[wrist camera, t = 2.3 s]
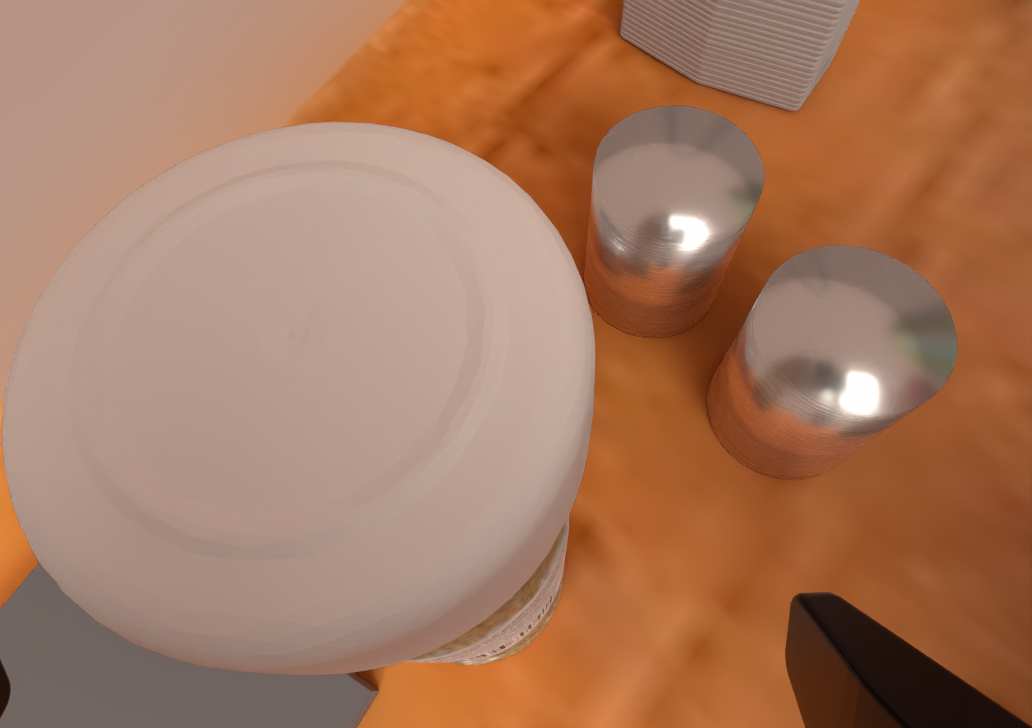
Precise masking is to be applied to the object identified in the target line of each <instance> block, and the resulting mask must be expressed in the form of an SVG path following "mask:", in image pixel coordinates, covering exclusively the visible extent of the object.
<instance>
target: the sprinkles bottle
mask: <svg viewBox="0 0 1032 728" xmlns="http://www.w3.org/2000/svg"><path fill="white" fill-rule="evenodd" d="M594 388H595V338H594V328H593V321H592V315H591V311H590V307H589V303H588V300H587V296H586V292H585V288H584V284H583V282H582V279H581V277H580V274H579V272H578V270H577V267H576V265H575V262H574V260H573V257H572V255H571V253H570V251H569V250H568V248H567V246H566V244H565V243H564V241H563V239H562V237H561V236H560V234H559V232H558V230H557V229H556V228H555V227H554V225H553V224H552V223H551V221H550V220H549V219H548V217H547V216H546V215H545V214H544V212H543V211H542V210H541V209H540V208H539V206H538V205H537V204H536V203H535V201H534V200H533V199H532V198H531V196H529V195H528V194H527V193H526V192H525V191H524V190H523V189H522V188H520V187H519V186H518V185H517V184H516V183H515V182H514V181H513V180H512V179H511V178H510V177H509V176H507V175H506V174H504V173H503V172H501V171H500V170H498V169H497V168H495V167H494V166H493V165H491V164H490V163H488V162H486V161H485V160H483V159H481V158H480V157H478V156H476V155H474V154H472V153H470V152H469V151H467V150H465V149H462V148H460V147H458V146H456V145H454V144H452V143H449V142H447V141H444V140H441V139H439V138H436V137H433V136H430V135H427V134H423V133H419V132H415V131H411V130H407V129H403V128H398V127H392V126H386V125H380V124H373V123H355V122H321V123H307V124H301V125H295V126H289V127H283V128H277V129H272V130H266V131H261V132H258V133H254V134H251V135H248V136H244V137H241V138H238V139H235V140H232V141H229V142H227V143H224V144H222V145H219V146H216V147H214V148H211V149H209V150H206V151H203V152H201V153H199V154H197V155H195V156H193V157H191V158H189V159H187V160H185V161H183V162H181V163H179V164H177V165H175V166H173V167H172V168H170V169H168V170H167V171H165V172H163V173H162V174H160V175H158V176H157V177H155V178H154V179H152V180H151V181H149V182H148V183H146V184H145V185H143V186H142V187H140V188H139V189H137V190H135V191H134V192H133V193H131V194H130V195H129V196H128V197H126V198H125V199H124V200H123V201H122V202H120V203H119V204H118V205H117V206H116V207H115V208H114V209H112V210H111V211H110V212H109V213H108V214H107V215H106V216H105V217H103V218H102V219H101V220H100V221H99V222H98V223H97V224H96V225H95V226H94V227H93V228H92V229H91V230H90V231H89V232H88V234H86V236H85V237H84V238H83V239H82V240H81V241H80V242H79V243H78V244H77V245H76V246H75V247H74V249H73V250H72V251H71V253H70V254H69V255H68V257H67V258H66V259H65V261H64V262H63V263H62V265H61V266H60V267H59V269H58V270H57V271H56V273H55V274H54V276H53V277H52V279H51V280H50V282H49V283H48V285H47V286H46V288H45V289H44V291H43V293H42V294H41V296H40V298H39V300H38V302H37V304H36V306H35V307H34V310H33V311H32V313H31V315H30V317H29V319H28V321H27V324H26V326H25V328H24V330H23V333H22V335H21V337H20V340H19V342H18V344H17V348H16V351H15V354H14V357H13V361H12V364H11V367H10V373H9V377H8V382H7V387H6V391H5V402H4V413H3V425H2V445H3V457H4V467H5V472H6V476H7V481H8V486H9V493H10V498H11V501H12V504H13V507H14V510H15V513H16V516H17V519H18V522H19V524H20V526H21V528H22V530H23V532H24V534H25V536H26V538H27V540H28V542H29V544H30V547H31V549H32V551H33V553H34V555H35V556H36V558H37V559H38V561H39V562H40V564H41V565H42V566H43V568H44V569H45V570H46V571H47V572H48V574H49V575H50V576H51V577H52V578H53V579H54V580H55V581H56V582H57V584H58V585H59V587H60V589H61V590H62V591H63V592H64V593H65V594H66V595H67V596H68V597H69V598H71V599H72V600H73V601H74V602H75V603H76V604H78V605H79V606H80V607H81V608H82V609H83V610H84V611H86V612H87V613H88V614H89V615H90V616H91V617H93V618H94V619H95V620H96V621H97V622H99V623H101V624H102V625H104V626H105V627H107V628H109V629H110V630H112V631H114V632H115V633H117V634H118V635H120V636H122V637H123V638H125V639H126V640H128V641H130V642H131V643H133V644H135V645H138V646H141V647H143V648H146V649H149V650H151V651H154V652H157V653H159V654H162V655H165V656H167V657H170V658H173V659H176V660H179V661H183V662H187V663H191V664H196V665H200V666H204V667H209V668H217V669H225V670H233V671H241V672H254V673H270V674H285V675H327V674H345V673H352V672H359V671H366V670H371V669H376V668H381V667H386V666H391V665H396V664H399V663H402V662H450V663H452V664H460V665H484V664H488V663H491V662H494V661H500V660H503V659H505V658H506V657H508V656H511V655H514V654H516V653H518V652H520V651H521V650H522V649H524V648H525V647H527V646H528V645H529V644H530V643H531V642H532V641H533V640H534V639H535V638H536V637H537V636H538V635H539V634H540V633H541V632H542V631H543V629H544V628H545V627H546V626H547V624H548V623H549V621H550V619H551V616H552V614H553V612H554V609H555V607H556V605H557V603H558V601H559V600H560V597H561V592H562V586H563V580H564V561H565V555H566V549H567V541H568V534H569V513H570V511H571V509H572V506H573V504H574V502H575V499H576V496H577V493H578V490H579V487H580V484H581V481H582V478H583V473H584V469H585V465H586V460H587V456H588V449H589V441H590V434H591V427H592V419H593V408H594Z"/></svg>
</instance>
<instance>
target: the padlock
mask: <svg viewBox="0 0 1032 728" xmlns="http://www.w3.org/2000/svg"><path fill="white" fill-rule="evenodd" d="M859 1H860V0H624V2H623V4H624V6H623V12H622V15H623V16H622V22H621V31H620V34H621V36H622V38H623V39H625V40H627V41H628V42H630V43H632V44H633V45H635V46H637V47H638V48H640V49H641V50H643V51H645V52H646V53H648V54H650V55H651V56H653V57H655V58H656V59H658V60H660V61H661V62H663V63H665V64H666V65H668V66H669V67H671V68H673V69H674V70H676V71H678V72H679V73H681V74H683V75H684V76H686V77H688V78H689V79H691V80H693V81H694V82H696V83H699V84H702V85H705V86H709V87H712V88H715V89H719V90H722V91H725V92H729V93H732V94H736V95H739V96H742V97H746V98H749V99H752V100H756V101H759V102H762V103H766V104H769V105H773V106H776V107H779V108H783V109H785V110H789V111H796V110H798V109H800V107H801V106H802V105H803V103H804V102H805V100H806V99H807V97H808V96H809V94H810V93H811V92H812V90H813V89H814V87H815V86H816V84H817V83H818V81H819V80H820V78H821V77H822V76H823V74H824V73H825V71H826V70H827V68H828V67H829V65H830V64H831V63H832V60H833V58H834V55H835V54H836V51H837V49H838V48H839V45H840V43H841V40H842V39H843V37H844V34H845V33H846V29H847V28H848V26H849V24H850V22H851V19H852V17H853V16H854V13H855V11H856V8H857V6H858V5H859Z"/></svg>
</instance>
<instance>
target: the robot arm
mask: <svg viewBox="0 0 1032 728" xmlns="http://www.w3.org/2000/svg"><path fill="white" fill-rule="evenodd" d="M785 659H786V667H787V671H788V675H789V679H790V682H791V685H792V688H793V691H794V694H795V697H796V700H797V703H798V707H799V710H800V713H801V716H802V719H803V722H804V725H805V728H1032V727H1031V726H1030V725H1028V724H1027V723H1025V722H1024V721H1022V720H1021V719H1020V718H1018V717H1017V716H1015V715H1014V714H1012V713H1011V712H1009V711H1008V710H1006V709H1005V708H1003V707H1002V706H1000V705H999V704H997V703H996V702H994V701H993V700H991V699H990V698H989V697H987V696H986V695H984V694H983V693H981V692H980V691H978V690H977V689H975V688H974V687H972V686H971V685H969V684H968V683H966V682H965V681H963V680H962V679H961V678H959V677H958V676H956V675H955V674H953V673H952V672H950V671H949V670H947V669H946V668H944V667H943V666H941V665H940V664H938V663H937V662H935V661H934V660H932V659H931V658H930V657H928V656H927V655H925V654H924V653H922V652H921V651H919V650H918V649H916V648H915V647H913V646H912V645H910V644H909V643H907V642H906V641H904V640H903V639H901V638H900V637H899V636H897V635H896V634H894V633H893V632H891V631H890V630H888V629H887V628H885V627H884V626H882V625H881V624H879V623H878V622H876V621H875V620H873V619H872V618H871V617H869V616H868V615H866V614H865V613H863V612H862V611H860V610H859V609H857V608H856V607H854V606H853V605H851V604H850V603H848V602H847V601H845V600H844V599H842V598H841V597H839V596H838V595H836V594H834V593H829V592H819V593H800V594H797V595H796V596H794V597H793V599H792V602H791V606H790V614H789V623H788V632H787V641H786V650H785ZM10 693H11V684H10V680H9V678H8V675H7V673H6V671H5V668H4V666H3V664H2V661H1V659H0V718H1V717H2V715H3V713H4V711H5V709H6V707H7V705H8V702H9V699H10Z"/></svg>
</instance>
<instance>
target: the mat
mask: <svg viewBox="0 0 1032 728" xmlns="http://www.w3.org/2000/svg"><path fill="white" fill-rule="evenodd" d="M0 659H1V661H2V664H3V666H4V668H5V671H6V673H7V675H8V678H9V680H10V684H11V693H10V699H9V702H8V705H7V707H6V709H5V711H4V713H3V715H2V717H1V718H0V728H357V726H358V725H359V723H360V722H361V720H362V718H363V717H364V715H365V713H366V712H367V710H368V708H369V707H370V705H371V704H372V702H373V700H374V699H375V697H376V695H377V694H378V692H379V690H378V689H376V688H375V687H374V686H372V685H371V684H369V683H368V682H367V681H365V680H364V679H362V678H361V677H360V676H358V675H357V674H355V673H354V672H352V673H345V674H327V675H285V674H270V673H254V672H241V671H233V670H225V669H217V668H209V667H204V666H200V665H196V664H191V663H187V662H183V661H179V660H176V659H173V658H170V657H167V656H165V655H162V654H159V653H157V652H154V651H151V650H149V649H146V648H143V647H141V646H138V645H135V644H133V643H131V642H130V641H128V640H126V639H125V638H123V637H122V636H120V635H118V634H117V633H115V632H114V631H112V630H110V629H109V628H107V627H105V626H104V625H102V624H101V623H99V622H97V621H96V620H95V619H94V618H93V617H91V616H90V615H89V614H88V613H87V612H86V611H84V610H83V609H82V608H81V607H80V606H79V605H78V604H76V603H75V602H74V601H73V600H72V599H71V598H69V597H68V596H67V595H66V594H65V593H64V592H63V591H62V590H61V589H60V587H59V585H58V584H57V582H56V581H55V580H54V579H53V578H52V577H51V576H50V575H49V574H48V572H47V571H46V570H45V569H44V568H43V566H42V565H41V564H40V563H39V564H38V565H37V566H36V567H35V568H34V570H33V571H32V572H31V573H30V574H29V576H28V577H27V578H26V579H25V580H24V581H23V583H22V584H21V585H20V586H19V587H18V589H17V590H16V591H15V592H14V593H13V594H12V596H11V597H10V598H9V599H8V600H7V602H6V603H5V604H4V605H3V606H2V607H1V609H0Z"/></svg>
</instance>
